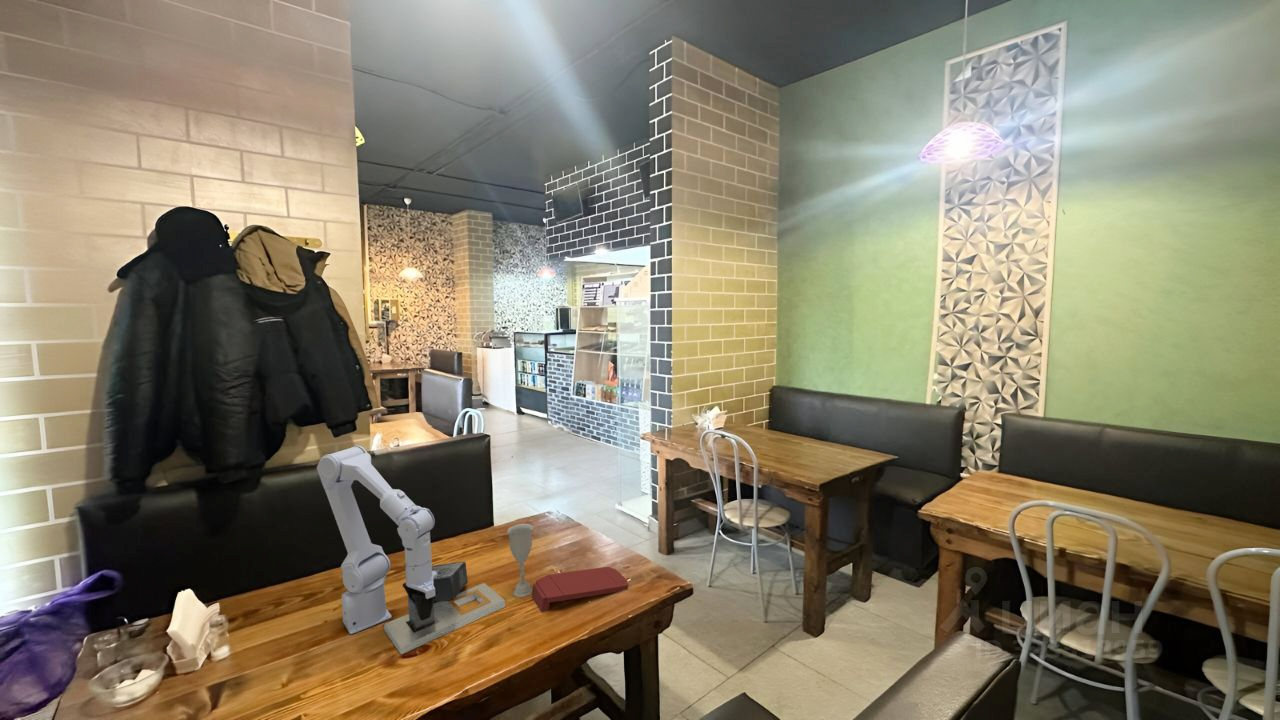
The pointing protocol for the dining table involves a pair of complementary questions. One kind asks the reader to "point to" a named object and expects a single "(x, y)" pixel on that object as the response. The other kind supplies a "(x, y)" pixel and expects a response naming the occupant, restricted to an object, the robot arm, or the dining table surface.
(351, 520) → the robot arm
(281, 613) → the dining table surface
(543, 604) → the carton
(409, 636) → the rail plate
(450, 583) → the small box
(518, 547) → the chalice
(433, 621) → the post
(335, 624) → the dining table surface
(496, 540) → the dining table surface
